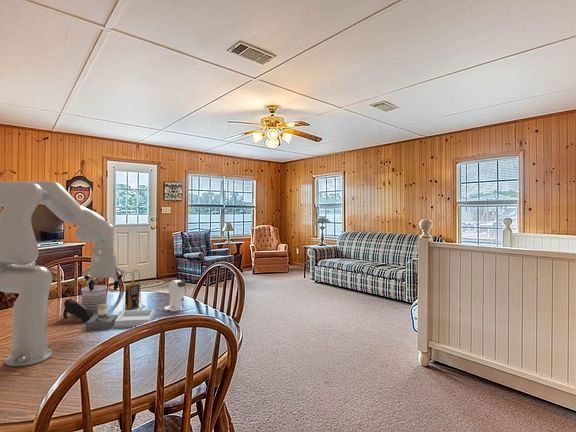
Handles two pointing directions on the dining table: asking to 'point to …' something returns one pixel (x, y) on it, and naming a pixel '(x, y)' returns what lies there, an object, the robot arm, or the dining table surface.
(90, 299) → the can
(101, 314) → the cylinder
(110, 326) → the grey flat square block
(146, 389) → the dining table surface
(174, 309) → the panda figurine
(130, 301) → the multimeter
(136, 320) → the parts tray
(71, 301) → the gun
